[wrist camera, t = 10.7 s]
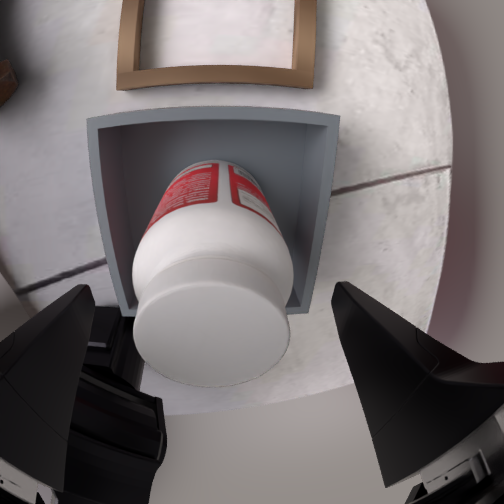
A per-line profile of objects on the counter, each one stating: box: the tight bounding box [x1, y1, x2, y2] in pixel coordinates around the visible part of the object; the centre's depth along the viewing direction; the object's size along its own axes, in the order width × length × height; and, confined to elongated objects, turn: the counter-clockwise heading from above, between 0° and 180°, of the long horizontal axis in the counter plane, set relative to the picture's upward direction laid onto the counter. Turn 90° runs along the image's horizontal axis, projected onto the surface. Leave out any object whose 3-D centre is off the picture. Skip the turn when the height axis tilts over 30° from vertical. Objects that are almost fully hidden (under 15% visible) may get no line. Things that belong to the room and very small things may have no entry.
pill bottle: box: [132, 160, 293, 387], centre depth 12 cm, size 6×6×11 cm
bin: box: [87, 106, 340, 317], centre depth 16 cm, size 12×12×4 cm
